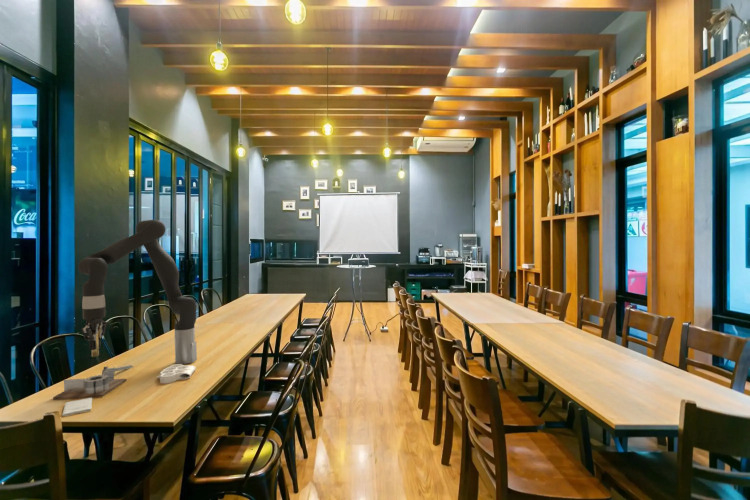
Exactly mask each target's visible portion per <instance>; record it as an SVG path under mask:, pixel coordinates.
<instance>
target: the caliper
mask: <svg viewBox="0 0 750 500" xmlns="http://www.w3.org/2000/svg"><path fill="white" fill-rule="evenodd" d="M133 367H134V365H132V364H128V365H123V366H119V367H109V366H104V367H103V369H102V371H101V375H102V374H104V373H105V372H107V371H109V370H111V369H114V374H115V372H119V371H124V370H125V371H126V370H130V369H131V368H133Z"/></svg>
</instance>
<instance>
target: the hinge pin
mask: <svg viewBox="0 0 750 500" xmlns="http://www.w3.org/2000/svg"><path fill="white" fill-rule="evenodd" d="M91 333H94V332H91ZM92 336H93V335H92ZM99 349H100V348H99V339H98V334H97V335H96V349H95V350H91V357H92V358H95V357H99V356H100V350H99Z"/></svg>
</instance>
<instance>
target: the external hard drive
mask: <svg viewBox="0 0 750 500" xmlns="http://www.w3.org/2000/svg"><path fill="white" fill-rule="evenodd" d="M92 405H93V397H91V398H80V399H75V400H72V401H67V402H65V404H64V407H63V411H62V414H61V416H65V417H69V416H68V415H70V416H73V415H72V414H74V415H78V414H83V413H82V412H84V413H88V412H91V411H92ZM87 411H88V412H87ZM77 413H78V414H77Z"/></svg>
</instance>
